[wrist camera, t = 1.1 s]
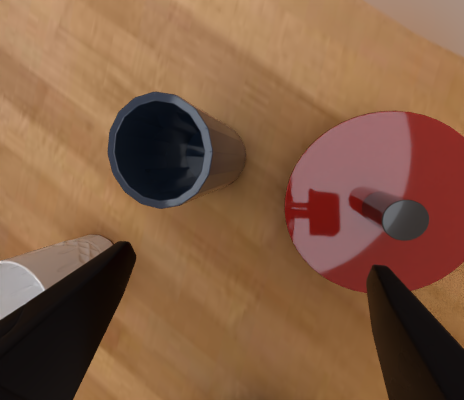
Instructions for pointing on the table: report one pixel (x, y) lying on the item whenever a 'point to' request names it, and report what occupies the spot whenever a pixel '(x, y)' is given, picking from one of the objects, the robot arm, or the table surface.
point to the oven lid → (380, 200)
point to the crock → (172, 151)
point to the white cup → (44, 269)
